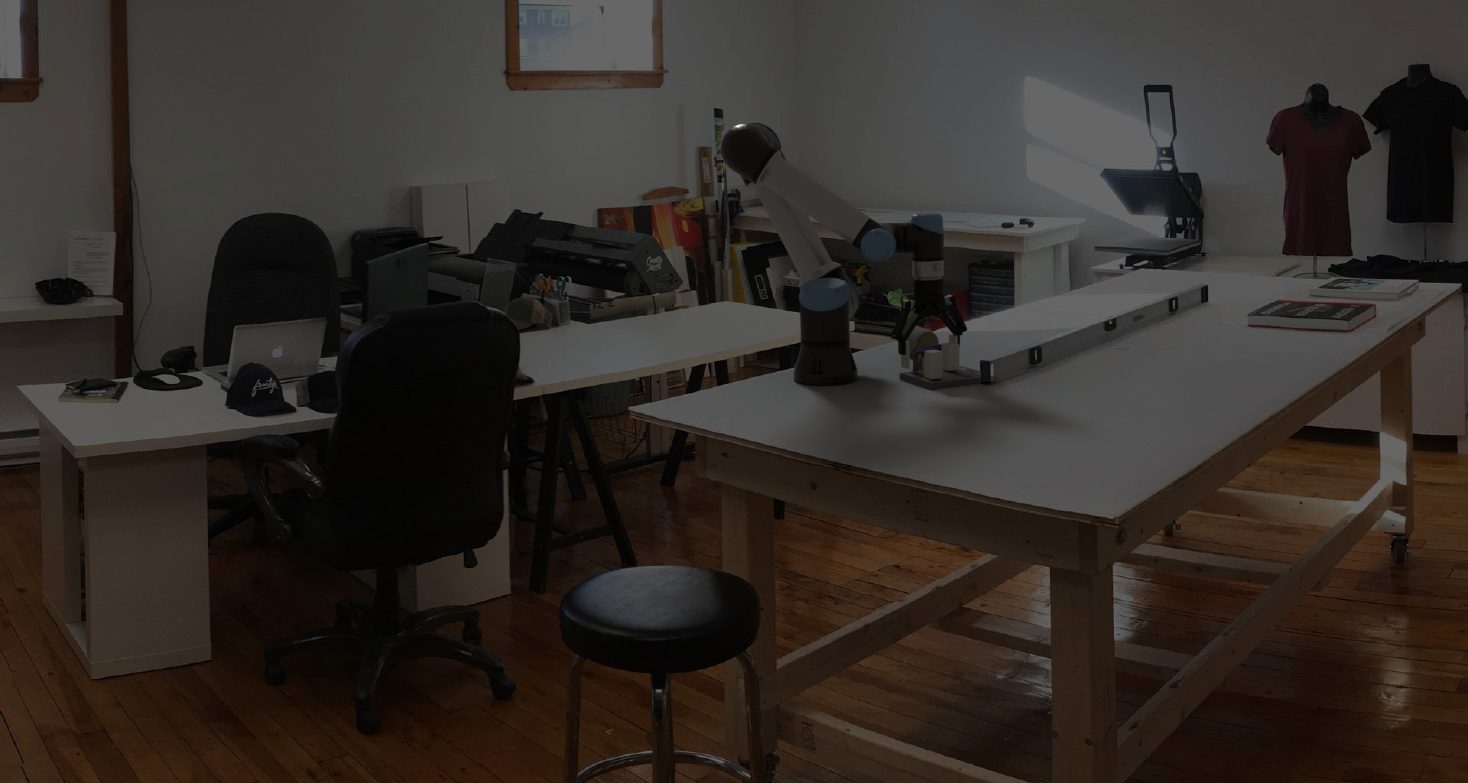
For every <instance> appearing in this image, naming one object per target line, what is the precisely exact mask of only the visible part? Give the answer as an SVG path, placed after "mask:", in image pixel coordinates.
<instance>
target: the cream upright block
mask: <svg viewBox="0 0 1468 783" xmlns="http://www.w3.org/2000/svg"><path fill="white" fill-rule="evenodd" d="M924 377H926V378H929V379H936V378H942V351H939V350H928V351H924Z"/></svg>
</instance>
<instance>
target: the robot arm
mask: <svg viewBox="0 0 1468 783" xmlns="http://www.w3.org/2000/svg"><path fill="white" fill-rule="evenodd" d="M720 154H721V158H722V161H723V162H724V164H725V165H726V166H727V167H728V168H729V170H731V171H732V172H734V173H736V174H738V175H740V178H741V180H742V182H743V183H744V185H745V187H746V188H747V189H751V190H754V191H755V192H756V194H757V197H758V198H759V200H760V202H761V204H762V206H763V208H764V210H765V211H766V213H767V215H768V217H769V219H770V221H771V224H772V225H773V227H774V228H775V230H776V233H777V235H778V236H779V238H780V241H781V242H782V244H783V246H784V247H785V250H786V252H787V254H788V255H789V257H790V260H791V262H792V263H793V265H794V267H795V270H796V271H797V273H798V275H799V278H800V279H799V284H798V288H799V295H798V301H799V319H800V320H799V321H800V322H799V324H800V325H799V326H800V327H799V328H800V331H799V332H800V349H799V352H798V356H797V359H796V362H795V364H794V365H795V366H794V369H793V381H795V382H797V383H800V384H805V385H812V386H813V385H814V386H834V385H835V386H836V385H845V384H850V383H852V382H855V381H857V380H858V368H857V367H858V366H857V365H856V361H855V358H854V356H853V353H852V350H851V342H850V341H851V339H850V338H851V337H850V336H851V333H850V330H851V328H850V327H851V325H850V321H851V320H853V318H854V317H855V316H856V314H857V312H858V310H859V306H860V293H859V289H858V288H857V285H856V284H854V282H853V281H852V280H851V279H849V278H848V276H847V274H846V272H845V271H844V268H843V266H842V264H841V263H838V262H836V261H833V260H832V259H831V257H830V254H829V253H828V251H827V249H826V247H825V245H824V244H823V241H822V239H821V237H820V236H819V233H818V232H817V230H816V228H815V226H814V224H813V222H812V220H811V219H810V217H811V218H812V219H813V220H815V221H817V222H818V223H819V224H821V225H822V226H824V227H826V228H827V229H829V230H830V231H831V232H833V233H834V234H836V235H837V236H839V237H840V238H842V239H843V240H844V241H846V242H848V243H849V244H851V245H852V246H853V247H855V248H856V249H857V250H858V251H861V253H862V255H863V256H864V258H866V259H867V260H869V261H871V262H875V263H879V262H885V261H887V260H889V259H890V258H891V257H892V256H893V255H903V254H904V255H905V254H906V255H908V254H911V256H912V260H911V261H912V266H911V268H912V272H911V274H912V277H913V278H914V279H913V280H912V294H913V300H908V299H903V300H901V306H900V311H899V314H898V317H897V318H896V321H895V323H894V326H893V329H892V330H891V333H890V339H892V340H896V341H897V350H898V351H897V353H898V354H899V355H900V359H901V360H900V362H901V363H900V364H901V365H900V366H901V368H904V369H907V370H908V369H911V362H910V361H911V360H910V359H911V355H910V350H909V342H908V341H906V340H907V339H908V337H909V336H910V334H911V333H912V331H913V330H914V328H915V327H916V326H918V324H919V322H920V321H921V320H922V319H923V318H929V317H937V316H938V318H939V319H940V321H941V322H942V323H944V325H945V326H946V327H947V329H948V331H950V332H951V334H948V343H950V342H953V343H957V344H959V348H960V347H961V336H963V334H964V332H967V331H968V327H967V325H966V322H965V321H964V318H963V316H962V314H961V312H960V309H959V308H958V305H957V303H956V302H957V299H956V296H955V295H951V294H947V295H946V296H944V294H945V279H944V278H943V277H944V276H945V272H944V271H945V263H944V262H945V260H944V258H945V256H944V255H945V250H944V249H945V248H944V247H945V246H944V244H945V243H944V242H945V241H944V239H945V231H944V220H943V216H942V215H941V214H940V213H937V212H923V213H922V212H920V213H919V212H918V213H917V212H916V213H913V214H912V215H911V219H910V221H908V222H907V221H906V222H877V220H874V219H873V218H871V217H870V216H868V215H867V214H866V213H864V212H862V211H861V210H859V209H858V208H857V207H856V206H854V205H852V204H851V203H850V202H848V201H846V200H845V199H844V198H842V197H840V196H839V195H838V194H836V193H834V192H833V191H832V190H830V189H829V188H827V187H825V186H824V185H823V184H821V182H819V181H817V180H816V179H815V178H813V177H811V176H810V175H808V174H807V173H805V172H804V171H803V170H801V169H799V168H798V167H797V166H795V165H793V164H792V163H791V162H789V161H788V160H787V159H786V157H785V154H784V153H783V151H782V144H781V141H780V137H779V136H778V134H777V133H776V131H775V130H773V128H771V127H770V126H768V125H766V124H763V123H761V122H748V123H741V124H736V125H735V126H733V127H731V128H729V129H728V130H727V132H725V134H724V135H723V138H722V140H721V143H720ZM944 304H945V305H946V307H947V309H948V311H949V313H950V315H951V317H952V319H951V317H950V316H949V315H948V312H947V311H946V310H945V309H944V308H943V306H944ZM913 308H914V309H913ZM912 309H913V311H912V312H911V310H912ZM910 313H911V314H910ZM909 316H910V317H909Z"/></svg>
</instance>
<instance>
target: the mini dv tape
mask: <svg viewBox="0 0 1468 783" xmlns="http://www.w3.org/2000/svg"><path fill="white" fill-rule="evenodd" d="M928 350H939V351H942V343H941V344H940V343H939V344H934V345H927V346H921V347H914V348H913V355H912V371H920V370H924V351H928Z"/></svg>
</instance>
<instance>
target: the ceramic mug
mask: <svg viewBox="0 0 1468 783" xmlns="http://www.w3.org/2000/svg"><path fill="white" fill-rule="evenodd" d="M906 341H908V342H909V350H910V356H913V348H914V347H921V346H927V345H934V344H940V343H939V339H938V336H937V335H936V334H935V332H933V331H931V330H929V329H927V328H924V327H921V326H919V325H916V327H915V328H914V330H913V331H912V333H911V334H910V336H909V337H908V339H907V340H906Z"/></svg>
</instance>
